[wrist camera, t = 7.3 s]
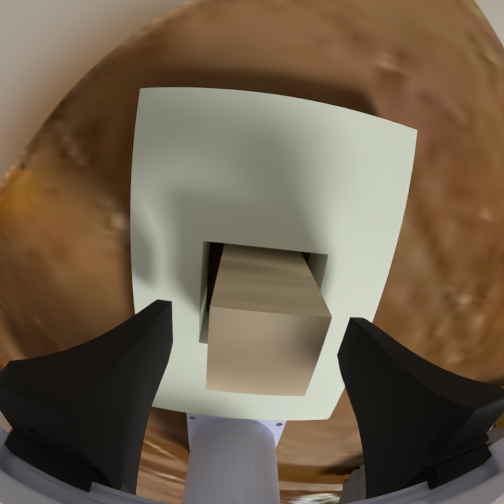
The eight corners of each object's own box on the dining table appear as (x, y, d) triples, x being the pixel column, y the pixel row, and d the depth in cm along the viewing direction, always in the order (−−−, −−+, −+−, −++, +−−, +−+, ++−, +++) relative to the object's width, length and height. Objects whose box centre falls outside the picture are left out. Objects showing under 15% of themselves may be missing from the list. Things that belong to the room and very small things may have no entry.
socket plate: (320, 389, 19) (328, 419, 16) (159, 376, 18) (149, 405, 16) (387, 132, 13) (417, 130, 10) (161, 99, 12) (140, 88, 9)
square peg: (285, 306, 16) (304, 396, 10) (220, 299, 16) (205, 389, 10) (297, 245, 15) (332, 317, 8) (226, 236, 15) (209, 306, 8)
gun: (354, 413, 33) (334, 508, 21) (514, 375, 21) (531, 469, 9) (357, 422, 34) (339, 511, 22) (510, 387, 22) (522, 476, 10)
